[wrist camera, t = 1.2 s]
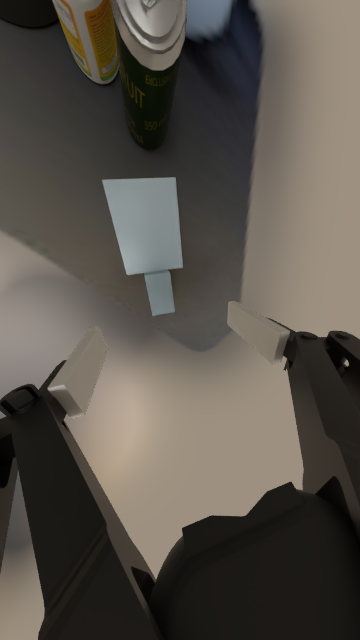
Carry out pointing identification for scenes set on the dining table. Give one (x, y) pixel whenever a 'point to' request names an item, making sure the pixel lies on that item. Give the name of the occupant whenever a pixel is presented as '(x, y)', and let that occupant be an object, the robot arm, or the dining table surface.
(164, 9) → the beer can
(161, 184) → the lid
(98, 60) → the supplement bottle
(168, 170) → the dining table surface
